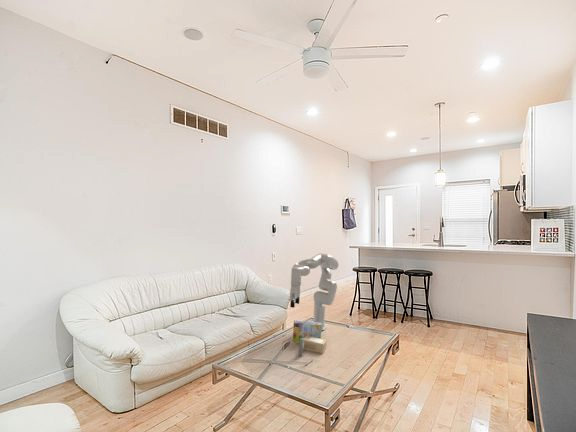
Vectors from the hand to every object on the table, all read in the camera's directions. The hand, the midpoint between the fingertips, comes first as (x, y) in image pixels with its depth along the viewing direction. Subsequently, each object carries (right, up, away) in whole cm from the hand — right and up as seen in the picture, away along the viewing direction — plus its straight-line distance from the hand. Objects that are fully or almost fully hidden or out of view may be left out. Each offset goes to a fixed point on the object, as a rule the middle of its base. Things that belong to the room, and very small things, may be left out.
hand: (294, 305), depth 241 cm
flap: (+4, -29, -16) cm, 33 cm away
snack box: (+9, -29, +2) cm, 30 cm away
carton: (+14, -29, -9) cm, 34 cm away
